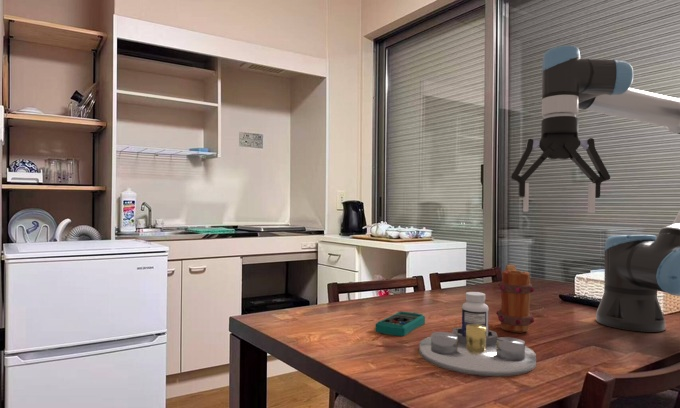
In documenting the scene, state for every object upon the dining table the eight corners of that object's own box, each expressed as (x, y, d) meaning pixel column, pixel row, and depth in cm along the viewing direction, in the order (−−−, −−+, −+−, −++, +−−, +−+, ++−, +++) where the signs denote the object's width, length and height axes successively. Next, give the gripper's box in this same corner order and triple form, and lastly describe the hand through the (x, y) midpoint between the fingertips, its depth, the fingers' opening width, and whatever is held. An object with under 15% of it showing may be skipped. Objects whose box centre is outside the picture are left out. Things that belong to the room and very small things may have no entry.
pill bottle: (468, 334, 102) (468, 290, 102) (492, 339, 99) (492, 293, 99) (457, 339, 98) (458, 293, 98) (481, 345, 95) (482, 296, 95)
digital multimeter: (373, 334, 108) (373, 321, 108) (398, 321, 121) (399, 309, 121) (403, 339, 105) (403, 326, 105) (425, 325, 118) (426, 313, 118)
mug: (536, 337, 107) (538, 271, 107) (499, 334, 109) (500, 269, 109) (524, 321, 121) (525, 264, 122) (492, 319, 123) (493, 262, 123)
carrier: (526, 345, 100) (527, 317, 100) (546, 382, 79) (546, 347, 79) (422, 336, 105) (423, 310, 105) (415, 368, 84) (415, 336, 84)
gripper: (615, 119, 105) (614, 213, 105) (499, 122, 111) (498, 211, 111) (627, 112, 98) (626, 213, 98) (502, 116, 104) (501, 211, 104)
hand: (558, 212), depth 105 cm, fingers open, 13 cm apart
